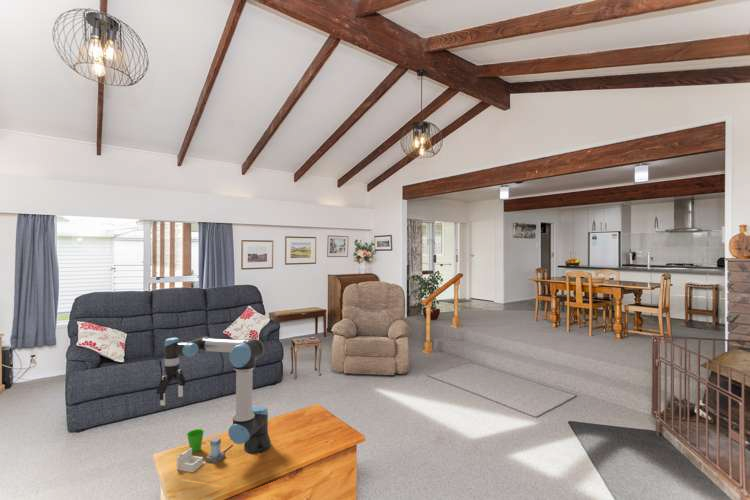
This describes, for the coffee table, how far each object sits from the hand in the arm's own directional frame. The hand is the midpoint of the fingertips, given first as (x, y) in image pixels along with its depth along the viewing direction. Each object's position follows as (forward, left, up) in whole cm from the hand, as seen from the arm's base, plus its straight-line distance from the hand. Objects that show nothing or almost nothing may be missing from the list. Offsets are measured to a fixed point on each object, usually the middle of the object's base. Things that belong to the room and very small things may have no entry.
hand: (171, 400), depth 224 cm
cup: (-16, 0, -28) cm, 32 cm away
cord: (-34, -5, -28) cm, 44 cm away
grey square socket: (-34, +5, -28) cm, 44 cm away
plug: (-34, +5, -27) cm, 43 cm away
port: (-26, +14, -28) cm, 40 cm away
